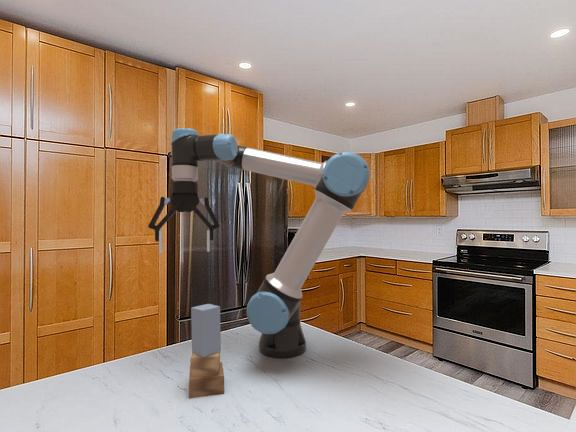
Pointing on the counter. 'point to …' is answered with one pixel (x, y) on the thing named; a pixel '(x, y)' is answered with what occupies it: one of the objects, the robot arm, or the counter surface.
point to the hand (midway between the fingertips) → (185, 252)
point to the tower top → (204, 365)
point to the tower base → (207, 385)
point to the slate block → (206, 330)
